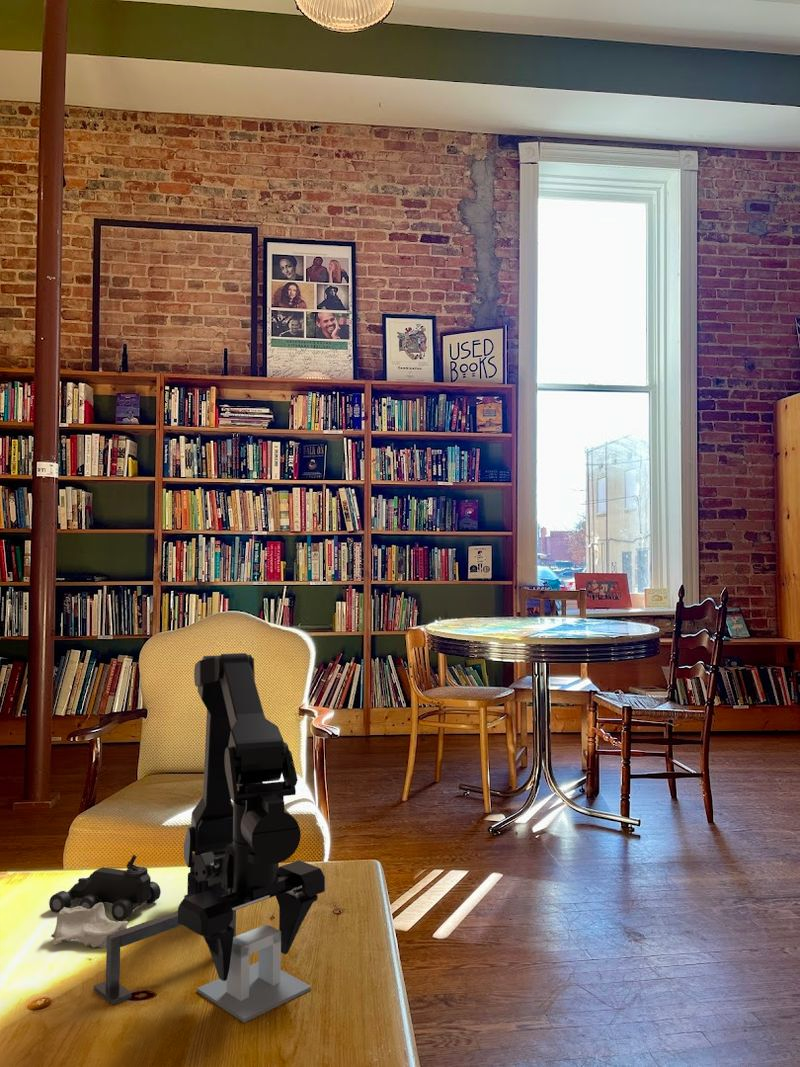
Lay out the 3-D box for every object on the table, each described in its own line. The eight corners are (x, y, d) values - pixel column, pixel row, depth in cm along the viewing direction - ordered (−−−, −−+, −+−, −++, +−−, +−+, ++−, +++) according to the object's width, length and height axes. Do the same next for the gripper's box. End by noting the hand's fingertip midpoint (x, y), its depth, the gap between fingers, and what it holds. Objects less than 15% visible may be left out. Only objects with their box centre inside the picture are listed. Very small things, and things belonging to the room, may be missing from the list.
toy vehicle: (128, 926, 114) (130, 865, 115) (46, 913, 119) (48, 854, 119) (162, 905, 122) (163, 847, 122) (84, 893, 127) (86, 838, 127)
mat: (262, 962, 102) (262, 959, 102) (311, 989, 95) (311, 986, 95) (196, 991, 95) (196, 988, 95) (244, 1022, 88) (244, 1019, 88)
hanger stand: (226, 938, 109) (227, 888, 110) (247, 950, 106) (247, 897, 106) (93, 990, 95) (95, 932, 96) (112, 1005, 92) (114, 945, 92)
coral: (121, 950, 106) (122, 917, 106) (44, 952, 106) (45, 919, 106) (133, 932, 112) (134, 900, 112) (60, 934, 111) (61, 902, 111)
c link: (280, 982, 96) (281, 931, 97) (240, 1001, 92) (241, 947, 92) (266, 974, 98) (266, 924, 99) (226, 992, 94) (227, 939, 95)
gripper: (276, 809, 109) (274, 922, 108) (155, 840, 95) (152, 971, 94) (328, 825, 101) (327, 948, 100) (205, 862, 88) (202, 1004, 86)
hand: (254, 965), depth 95 cm, fingers open, 9 cm apart
